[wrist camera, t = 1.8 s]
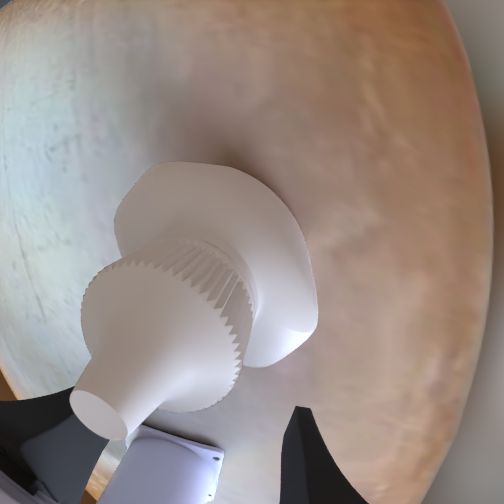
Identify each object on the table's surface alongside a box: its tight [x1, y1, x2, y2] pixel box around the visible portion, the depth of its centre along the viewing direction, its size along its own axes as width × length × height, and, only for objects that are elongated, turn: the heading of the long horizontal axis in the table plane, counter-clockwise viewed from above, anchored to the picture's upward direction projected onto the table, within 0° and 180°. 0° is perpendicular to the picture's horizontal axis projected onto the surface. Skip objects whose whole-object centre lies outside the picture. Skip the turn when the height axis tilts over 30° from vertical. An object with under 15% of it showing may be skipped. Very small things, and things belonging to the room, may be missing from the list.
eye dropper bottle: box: [70, 162, 318, 441], centre depth 8 cm, size 4×6×12 cm
